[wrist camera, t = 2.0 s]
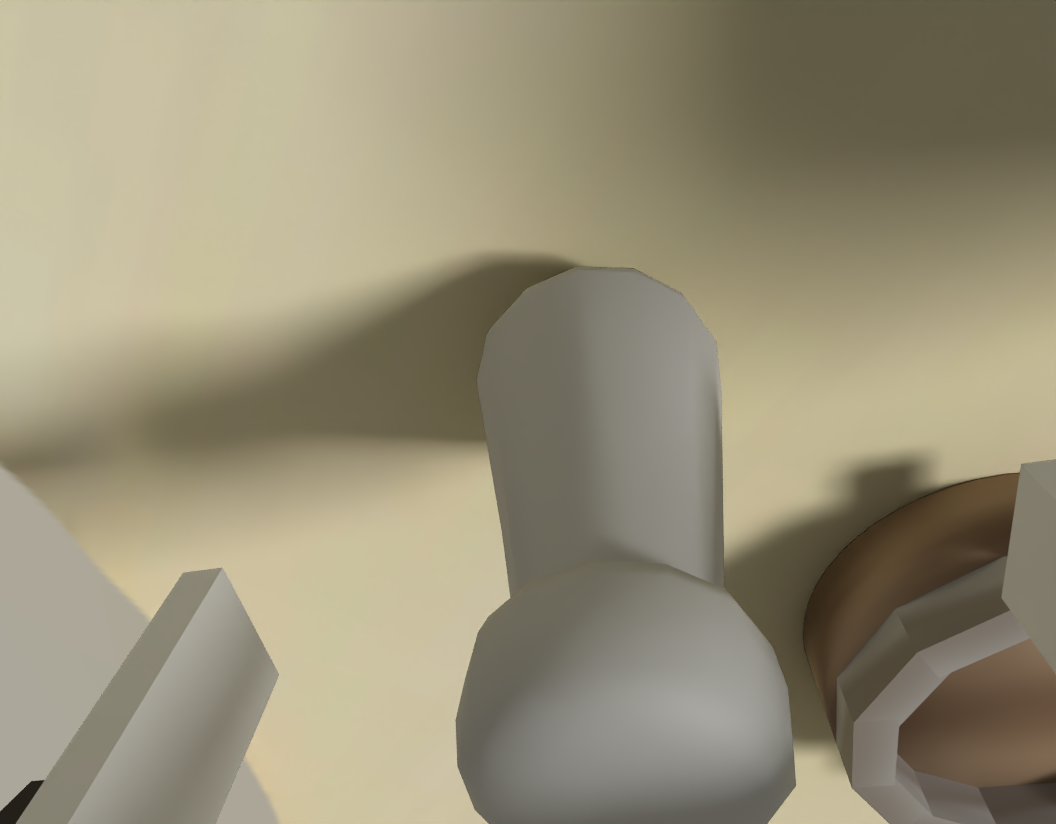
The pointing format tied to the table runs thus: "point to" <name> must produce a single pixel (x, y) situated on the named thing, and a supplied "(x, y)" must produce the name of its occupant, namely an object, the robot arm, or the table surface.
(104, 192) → the table surface
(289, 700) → the table surface
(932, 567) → the brown bowl with handles
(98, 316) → the table surface
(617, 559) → the salt shaker
